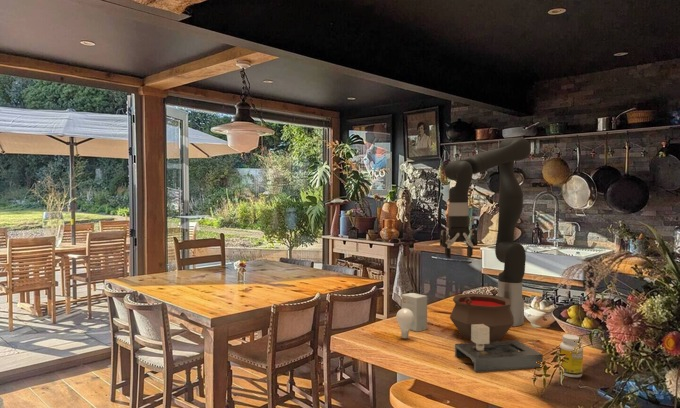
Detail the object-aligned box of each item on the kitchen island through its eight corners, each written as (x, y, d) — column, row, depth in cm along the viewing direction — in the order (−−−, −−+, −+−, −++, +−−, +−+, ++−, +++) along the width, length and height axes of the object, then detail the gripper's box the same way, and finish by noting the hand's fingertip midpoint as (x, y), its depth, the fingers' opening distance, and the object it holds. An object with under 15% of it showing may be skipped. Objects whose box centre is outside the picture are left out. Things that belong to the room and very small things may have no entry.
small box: (427, 329, 181) (427, 295, 181) (416, 332, 177) (416, 298, 176) (411, 324, 187) (412, 292, 187) (400, 327, 183) (401, 294, 183)
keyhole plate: (516, 352, 155) (516, 339, 155) (542, 367, 142) (542, 353, 142) (454, 356, 151) (455, 343, 151) (475, 372, 137) (475, 358, 137)
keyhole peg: (483, 359, 148) (483, 323, 148) (491, 365, 143) (491, 327, 143) (468, 360, 147) (469, 324, 147) (476, 366, 142) (476, 328, 142)
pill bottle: (554, 370, 140) (555, 333, 139) (574, 369, 140) (575, 333, 140) (566, 378, 133) (567, 340, 133) (587, 377, 134) (587, 339, 134)
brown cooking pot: (498, 351, 155) (499, 303, 155) (435, 336, 172) (436, 292, 171) (526, 336, 173) (527, 292, 173) (466, 323, 189) (467, 283, 189)
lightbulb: (415, 337, 170) (416, 307, 170) (410, 342, 164) (411, 311, 164) (399, 335, 173) (399, 305, 173) (393, 340, 167) (393, 309, 167)
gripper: (471, 213, 180) (471, 255, 181) (436, 214, 177) (437, 257, 178) (481, 214, 173) (481, 258, 174) (445, 215, 170) (445, 259, 170)
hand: (458, 257), depth 176 cm, fingers open, 8 cm apart
